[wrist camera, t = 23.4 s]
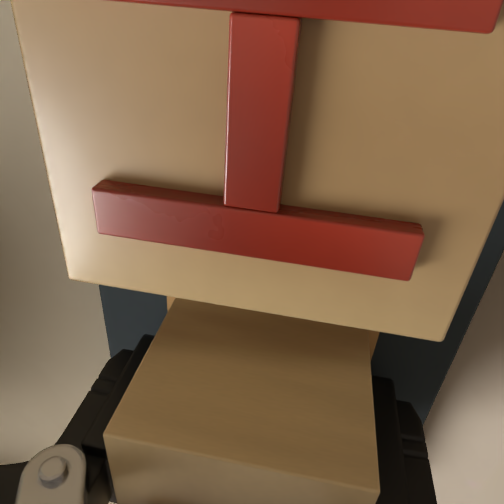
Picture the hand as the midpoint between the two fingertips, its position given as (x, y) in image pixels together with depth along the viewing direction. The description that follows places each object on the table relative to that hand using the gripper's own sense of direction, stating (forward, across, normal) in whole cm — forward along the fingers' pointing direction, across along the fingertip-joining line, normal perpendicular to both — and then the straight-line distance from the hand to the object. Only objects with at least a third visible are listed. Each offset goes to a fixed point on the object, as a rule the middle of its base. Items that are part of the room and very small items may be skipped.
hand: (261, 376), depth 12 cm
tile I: (0, 0, 0) cm, 0 cm away
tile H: (0, 0, -8) cm, 9 cm away
